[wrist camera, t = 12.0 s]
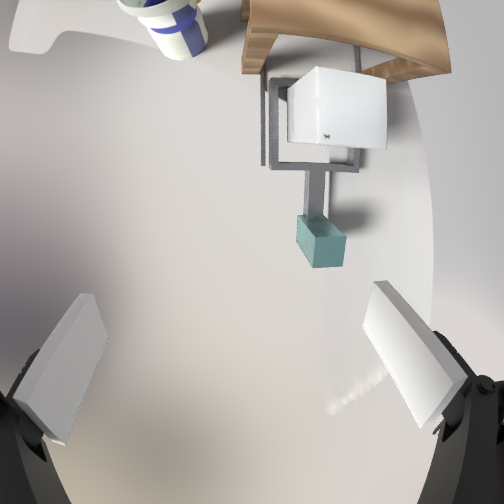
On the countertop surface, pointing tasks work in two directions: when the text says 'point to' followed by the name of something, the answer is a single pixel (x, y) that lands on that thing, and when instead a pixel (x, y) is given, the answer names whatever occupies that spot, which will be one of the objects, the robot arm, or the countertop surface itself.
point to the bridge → (354, 32)
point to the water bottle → (171, 25)
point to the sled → (311, 193)
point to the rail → (262, 88)
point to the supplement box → (338, 109)
